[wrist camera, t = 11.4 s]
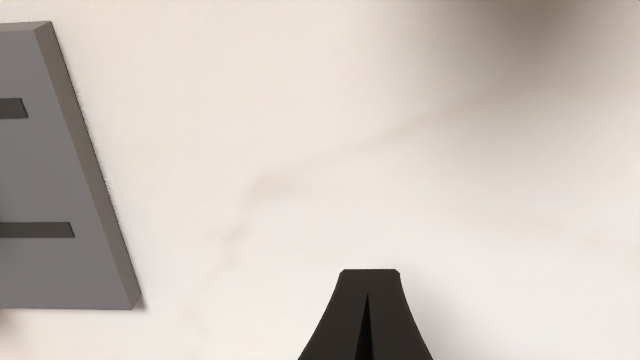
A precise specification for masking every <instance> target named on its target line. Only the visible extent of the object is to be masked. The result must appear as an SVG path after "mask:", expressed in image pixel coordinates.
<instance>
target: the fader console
mask: <svg viewBox="0 0 640 360" xmlns="http://www.w3.org/2000/svg"><path fill="white" fill-rule="evenodd" d="M140 294H141V292H140V289H139V286H138V283H137V280H136V277H135V274H134V271H133V268H132V265H131V262H130V259H129V256H128V253H127V250H126V247H125V244H124V241H123V238H122V235H121V232H120V229H119V226H118V223H117V220H116V217H115V213H114V210H113V207H112V204H111V201H110V198H109V195H108V192H107V189H106V186H105V183H104V180H103V177H102V174H101V171H100V168H99V165H98V162H97V159H96V156H95V153H94V150H93V147H92V144H91V141H90V138H89V135H88V132H87V129H86V126H85V123H84V120H83V117H82V114H81V111H80V108H79V105H78V102H77V99H76V96H75V93H74V90H73V87H72V84H71V81H70V78H69V75H68V72H67V69H66V66H65V63H64V60H63V57H62V54H61V51H60V48H59V45H58V42H57V39H56V36H55V33H54V30H53V27H52V24H51V21H41V22H23V23H4V24H0V308H32V309H96V310H132V309H133V307H134V305H135V303H136V302H137V300H138V298H139V296H140Z"/></svg>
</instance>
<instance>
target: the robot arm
mask: <svg viewBox="0 0 640 360" xmlns="http://www.w3.org/2000/svg"><path fill="white" fill-rule="evenodd" d="M298 360H433V358H432V356H431V355H430V353H429V351H428V349H427V347H426V345H425V343H424V341H423V339H422V337H421V334H420V332H419V330H418V328H417V326H416V323H415V321H414V319H413V316H412V314H411V312H410V309H409V306H408V303H407V301H406V298H405V295H404V291H403V288H402V284H401V279H400V273H399V272H398V271H397V270H395V269H344V270H343V271H342V272H341V273H340V275H339V278H338V281H337V284H336V287H335V290H334V292H333V294H332V297H331V299H330V301H329V303H328V306H327V308H326V310H325V312H324V314H323V316H322V318H321V320H320V322H319V324H318V326H317V328H316V329H315V331H314V333H313V335H312V337H311V339H310V340H309V342H308V344H307V345H306V347H305V348H304V350H303V352H302V353H301V355H300V357H299V358H298Z"/></svg>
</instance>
